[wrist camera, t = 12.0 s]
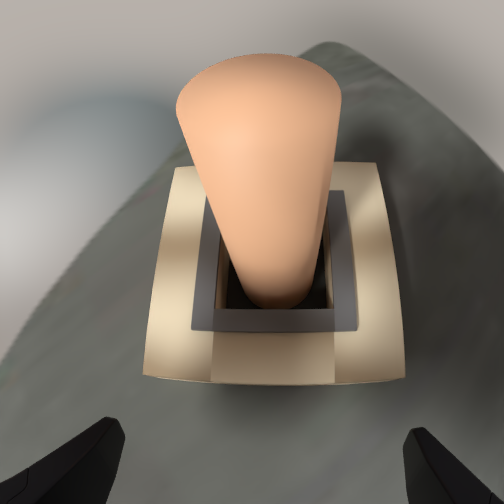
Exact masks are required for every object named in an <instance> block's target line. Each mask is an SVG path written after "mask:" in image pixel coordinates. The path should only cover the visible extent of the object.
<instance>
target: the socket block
mask: <svg viewBox="0 0 504 504" xmlns="http://www.w3.org/2000/svg"><path fill="white" fill-rule="evenodd" d="M322 232H323V247H324V263H325V282H326V307H327V309H226V300H227V286H228V271H229V258H230V255H229V252H228V250H227V247H226V245H225V242H224V240H223V237H222V235H221V232H220V229H219V227H218V224H217V222H216V219H215V216H214V214H213V211H212V209H211V206H210V203H209V201H208V198H207V195H206V193H205V190H204V188H203V185H202V182H201V180H200V177H199V174H198V172H197V169H196V166H189V167H177V168H175V173H174V177H173V181H172V186H171V191H170V195H169V200H168V205H167V210H166V215H165V220H164V225H163V230H162V236H161V241H160V247H159V253H158V259H157V265H156V271H155V277H154V284H153V290H152V297H151V305H150V312H149V320H148V328H147V336H146V345H145V355H144V365H143V374H144V375H149V376H153V377H158V378H164V379H173V380H183V381H194V382H206V383H220V384H238V385H269V386H308V385H338V384H356V383H370V382H382V381H391V380H396V379H401V378H405V355H404V338H403V325H402V314H401V304H400V295H399V286H398V278H397V271H396V264H395V257H394V250H393V244H392V238H391V233H390V227H389V222H388V216H387V211H386V206H385V201H384V197H383V192H382V187H381V183H380V179H379V174H378V170H377V166H376V163H367V162H333V168H332V175H331V182H330V188H329V194H328V201H327V207H326V213H325V219H324V224H323V230H322Z"/></svg>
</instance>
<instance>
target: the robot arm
mask: <svg viewBox="0 0 504 504" xmlns="http://www.w3.org/2000/svg"><path fill="white" fill-rule="evenodd" d="M124 442H125V434H124V432H123V429H122V427H121V425H120V423H119V421H118V420H117V419H115V418H111V417H104V418H102V419H101V420H99V421H98V422H96V423H95V424H93V425H92V426H91V427H89V428H88V429H86V430H85V431H83V432H82V433H80V434H79V435H77V436H76V437H74V438H73V439H71V440H70V441H68V442H67V443H65V444H64V445H62V446H61V447H59V448H58V449H56V450H55V451H53V452H51V453H50V454H48V455H47V456H45V457H44V458H42V459H41V460H39V461H37V462H36V463H34V464H33V465H31V466H30V467H29V468H26V469H25V470H23V471H21V472H20V473H18V474H16V475H15V476H13V477H11V478H9V479H7V480H5V481H3V482H1V483H0V504H106V501H107V499H108V496H109V493H110V491H111V488H112V485H113V483H114V480H115V477H116V474H117V470H118V466H119V462H120V458H121V454H122V450H123V446H124ZM403 457H404V467H405V479H406V491H407V497H408V502H409V504H504V502H503V501H502V500H501V499H499V498H498V497H497V496H496V495H495V494H494V493H493V492H491V490H490V489H489V488H488V487H487V486H485V485H484V484H483V483H482V482H481V481H480V480H479V479H478V478H477V477H476V476H475V475H474V474H473V473H472V472H471V471H470V470H469V469H467V468H466V467H465V466H464V465H463V464H462V463H461V462H460V461H459V460H458V459H457V458H456V457H455V456H454V455H453V454H452V453H451V452H450V451H448V450H447V449H446V448H445V447H444V446H443V445H442V444H441V443H440V442H439V441H438V440H437V439H436V438H435V437H434V436H433V435H432V434H431V433H430V432H429V431H427V430H426V429H425V428H424V427H419V428H413V429H411V430H410V431H409V434H408V436H407V438H406V440H405V442H404V445H403Z"/></svg>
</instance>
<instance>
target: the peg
mask: <svg viewBox="0 0 504 504" xmlns="http://www.w3.org/2000/svg"><path fill="white" fill-rule="evenodd" d="M340 108H341V92H340V88H339V86H338V84H337V82H336V81H335V80H334V78H333V77H332V76H331V75H330V74H329V73H328V72H327V71H325V70H324V69H322V68H321V67H319V66H318V65H316V64H314V63H312V62H309V61H307V60H304V59H301V58H298V57H293V56H288V55H282V54H251V55H244V56H239V57H235V58H231V59H228V60H225V61H222V62H219V63H217V64H215V65H212V66H210V67H208V68H207V69H205V70H203V71H202V72H200V73H199V74H197V75H196V76H195V77H194V78H192V79H191V80H190V81H189V82H188V83H187V84H186V85H185V87H184V88H183V90H182V91H181V93H180V95H179V97H178V100H177V104H176V113H177V117H178V120H179V123H180V126H181V128H182V131H183V134H184V137H185V139H186V142H187V145H188V147H189V150H190V153H191V156H192V158H193V161H194V164H195V166H196V169H197V172H198V174H199V177H200V180H201V182H202V185H203V188H204V190H205V193H206V195H207V198H208V201H209V203H210V206H211V209H212V211H213V214H214V216H215V219H216V222H217V224H218V227H219V229H220V232H221V235H222V237H223V240H224V242H225V245H226V247H227V250H228V252H229V255H230V258H231V260H232V263H233V265H234V268H235V270H236V273H237V275H238V278H239V280H240V283H241V285H242V288H243V290H244V293H245V294H246V296H247V297H248V298H249V300H250V301H251V302H252V303H254V304H255V305H257V306H258V307H260V308H263V309H290V308H293V307H295V306H296V305H298V304H299V303H301V302H302V301H303V300H304V299H305V298H306V296H307V295H308V293H309V291H310V289H311V286H312V282H313V277H314V272H315V267H316V262H317V257H318V252H319V246H320V241H321V236H322V230H323V224H324V219H325V213H326V207H327V201H328V194H329V188H330V182H331V175H332V168H333V162H334V155H335V147H336V140H337V132H338V124H339V116H340Z"/></svg>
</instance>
